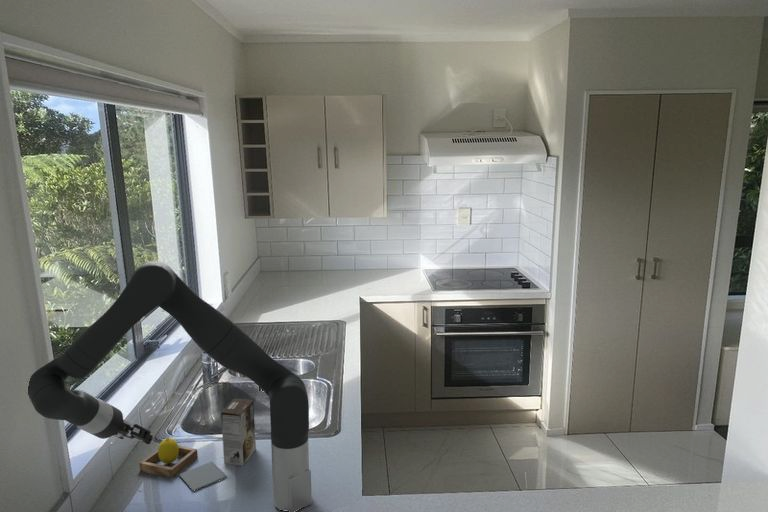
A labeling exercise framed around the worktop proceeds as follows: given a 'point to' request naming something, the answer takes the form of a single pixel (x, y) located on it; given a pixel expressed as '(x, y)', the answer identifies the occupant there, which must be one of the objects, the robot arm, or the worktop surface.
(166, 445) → the lemon
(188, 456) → the holder
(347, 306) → the worktop surface
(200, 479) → the mat
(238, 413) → the coffee box
